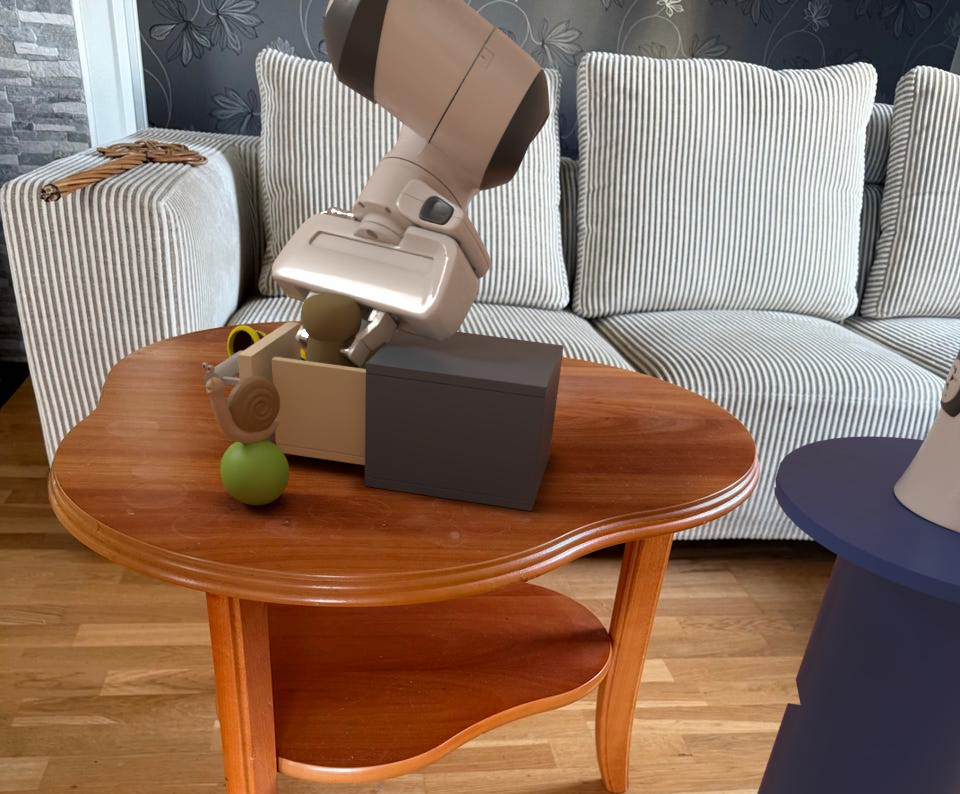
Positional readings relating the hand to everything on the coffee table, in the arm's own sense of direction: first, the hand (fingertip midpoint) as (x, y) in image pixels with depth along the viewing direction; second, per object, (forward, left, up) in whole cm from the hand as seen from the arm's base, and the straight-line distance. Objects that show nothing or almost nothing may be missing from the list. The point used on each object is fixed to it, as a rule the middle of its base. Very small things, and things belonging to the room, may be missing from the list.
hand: (326, 353), depth 79 cm
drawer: (+1, -1, -8) cm, 8 cm away
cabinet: (-13, -1, -9) cm, 16 cm away
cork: (0, -1, -6) cm, 6 cm away
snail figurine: (+2, +12, -9) cm, 16 cm away
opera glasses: (+13, -19, -10) cm, 25 cm away
